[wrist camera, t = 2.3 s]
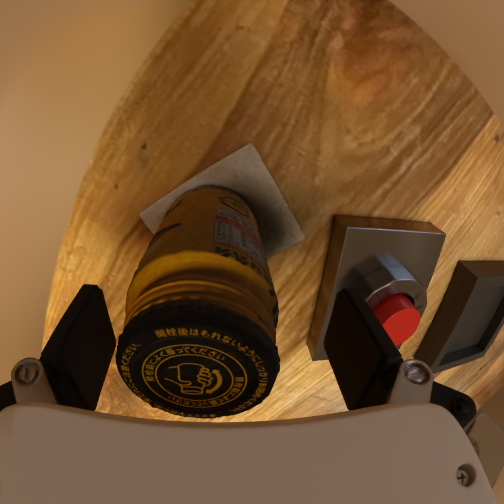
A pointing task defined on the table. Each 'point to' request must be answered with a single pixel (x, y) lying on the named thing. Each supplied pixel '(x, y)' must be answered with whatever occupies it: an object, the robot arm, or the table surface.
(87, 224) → the table surface
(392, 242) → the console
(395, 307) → the button
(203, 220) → the condiment
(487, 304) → the tray
